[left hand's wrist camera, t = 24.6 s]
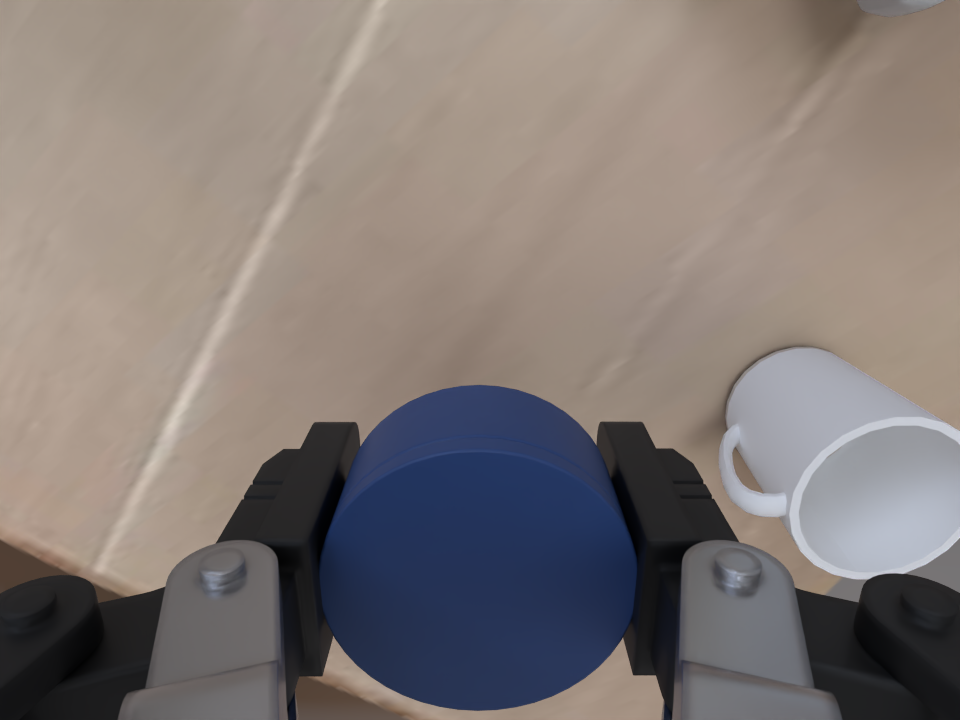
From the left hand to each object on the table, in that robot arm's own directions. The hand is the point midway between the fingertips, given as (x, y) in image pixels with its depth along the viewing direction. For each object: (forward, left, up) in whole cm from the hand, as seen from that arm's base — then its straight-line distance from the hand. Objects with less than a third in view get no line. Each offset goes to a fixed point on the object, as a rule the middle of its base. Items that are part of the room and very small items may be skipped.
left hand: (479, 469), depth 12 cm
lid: (0, 0, +3) cm, 3 cm away
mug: (+6, -20, -26) cm, 34 cm away
